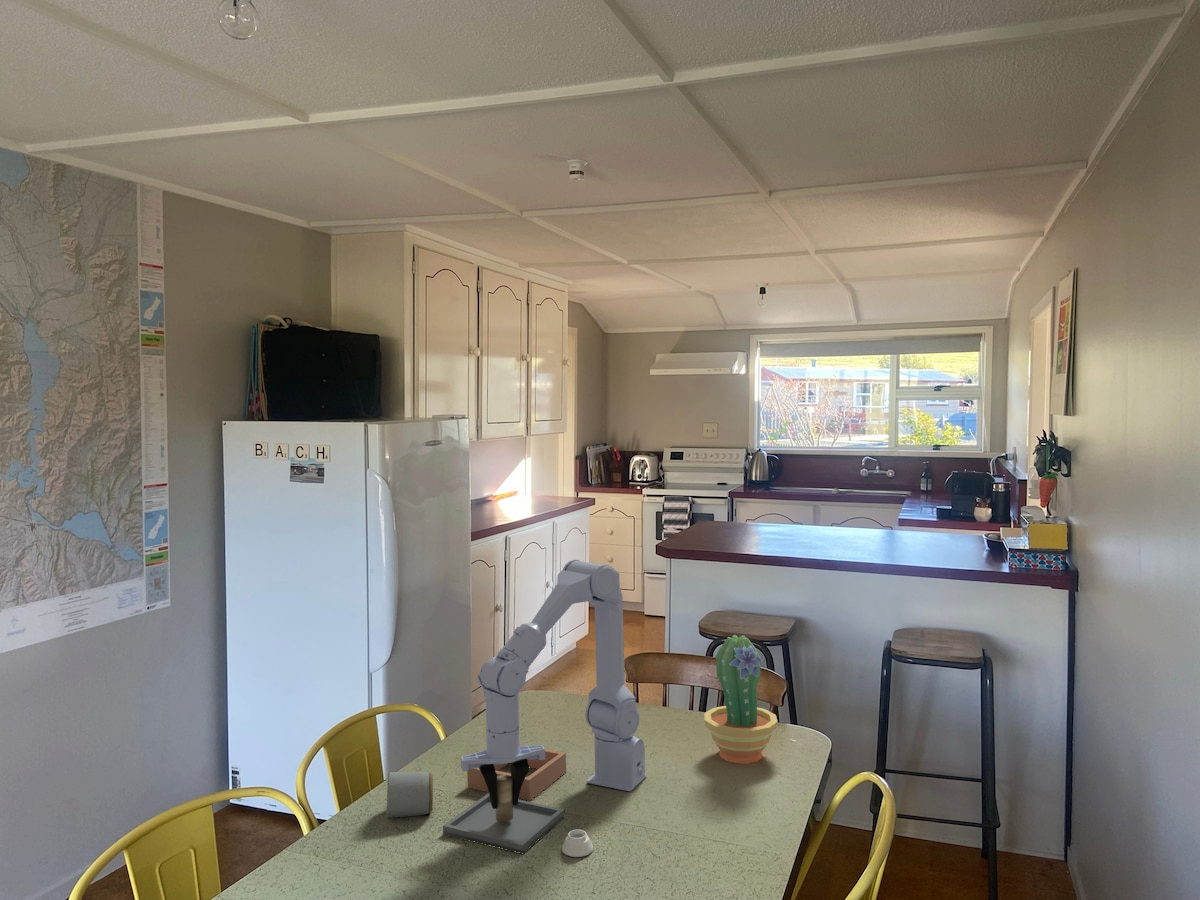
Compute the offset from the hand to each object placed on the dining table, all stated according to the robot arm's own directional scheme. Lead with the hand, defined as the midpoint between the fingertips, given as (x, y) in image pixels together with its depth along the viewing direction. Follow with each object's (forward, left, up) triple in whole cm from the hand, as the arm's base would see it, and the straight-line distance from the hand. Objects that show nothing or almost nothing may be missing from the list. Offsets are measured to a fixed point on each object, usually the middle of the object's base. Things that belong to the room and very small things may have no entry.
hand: (504, 804), depth 148 cm
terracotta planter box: (+8, -17, -4) cm, 19 cm away
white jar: (-16, +2, -4) cm, 16 cm away
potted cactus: (-28, -47, -4) cm, 55 cm away
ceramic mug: (+19, +2, -4) cm, 20 cm away
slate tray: (0, 0, -4) cm, 4 cm away
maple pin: (0, 0, -2) cm, 2 cm away
